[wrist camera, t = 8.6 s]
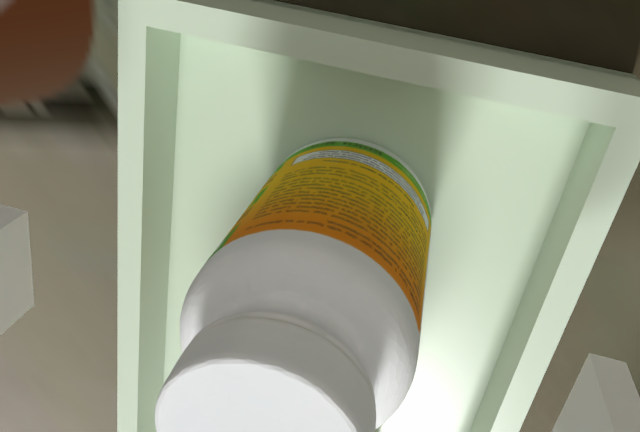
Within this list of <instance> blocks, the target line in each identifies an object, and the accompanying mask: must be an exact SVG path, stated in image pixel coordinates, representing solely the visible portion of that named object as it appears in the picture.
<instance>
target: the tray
mask: <svg viewBox="0 0 640 432" xmlns="http://www.w3.org/2000/svg"><path fill="white" fill-rule="evenodd" d="M331 138H352V139H359V140H363V141H367V142H370V143H373V144H376V145H378V146H380V147H383V148H385V149H387V150H389V151H390V152H392V153H393V154H395V155H396V156H398V157H399V158H400V159H401V160H402V161H404V162H405V163H406V164H407V165H408V166H409V167H410V168H411V170H412V171H413V172H414V173H415V175H416V176H417V178H418V179H419V181H420V182H421V184H422V186H423V188H424V190H425V193H426V195H427V198H428V201H429V205H430V210H431V218H432V227H431V240H430V251H429V260H428V269H427V278H426V288H425V297H424V306H423V316H422V325H421V335H420V345H419V354H418V361H417V366H416V371H415V375H414V379H413V382H412V385H411V387H410V389H409V391H408V393H407V395H406V397H405V399H404V401H403V402H402V404H401V405H400V407H399V408H398V409H397V411H396V412H395V413H394V414H393V415H392V416H391V417H390V418H389V419H388V420H387V421H386V422H385V423H383V424H382V425H381V426H380V427H378V428H377V429H376V430H377V432H519V430H520V428H521V426H522V423H523V421H524V419H525V417H526V415H527V412H528V410H529V408H530V406H531V403H532V401H533V399H534V397H535V394H536V392H537V390H538V388H539V385H540V383H541V381H542V379H543V376H544V374H545V372H546V370H547V367H548V365H549V363H550V361H551V358H552V356H553V354H554V352H555V349H556V347H557V345H558V343H559V340H560V338H561V336H562V334H563V331H564V329H565V327H566V325H567V322H568V320H569V318H570V316H571V313H572V311H573V309H574V307H575V304H576V302H577V300H578V298H579V295H580V293H581V291H582V289H583V287H584V284H585V282H586V280H587V278H588V275H589V273H590V271H591V269H592V266H593V264H594V262H595V260H596V257H597V255H598V253H599V251H600V248H601V246H602V244H603V242H604V239H605V237H606V235H607V233H608V230H609V228H610V226H611V224H612V221H613V219H614V217H615V215H616V212H617V210H618V208H619V206H620V203H621V201H622V199H623V197H624V194H625V192H626V190H627V188H628V185H629V183H630V181H631V179H632V176H633V174H634V172H635V170H636V167H637V165H638V163H639V161H640V80H639V79H638V78H637V77H636V76H635V75H634V74H631V73H626V72H621V71H616V70H611V69H606V68H601V67H597V66H592V65H587V64H582V63H577V62H572V61H567V60H562V59H558V58H553V57H548V56H543V55H538V54H533V53H528V52H523V51H519V50H514V49H509V48H504V47H499V46H494V45H489V44H484V43H480V42H475V41H470V40H465V39H460V38H455V37H450V36H445V35H441V34H436V33H431V32H426V31H421V30H416V29H411V28H406V27H402V26H397V25H392V24H387V23H382V22H377V21H372V20H367V19H362V18H358V17H353V16H348V15H343V14H338V13H333V12H328V11H323V10H319V9H314V8H309V7H304V6H299V5H294V4H289V3H284V2H280V1H275V0H118V401H117V432H157V431H156V427H155V407H156V402H157V398H158V395H159V393H160V390H161V388H162V386H163V384H164V383H165V381H166V379H167V378H168V376H169V375H170V373H171V371H172V369H173V368H174V366H175V364H176V363H177V361H178V360H179V358H180V356H181V355H182V353H183V352H182V348H181V340H180V316H181V311H182V306H183V303H184V299H185V296H186V294H187V292H188V289H189V287H190V285H191V284H192V282H193V280H194V279H195V277H196V276H197V274H198V273H199V271H200V270H201V268H202V267H203V266H204V264H205V263H206V262H207V260H208V259H209V257H210V256H211V255H212V254H213V252H214V251H215V250H216V249H217V247H218V246H219V245H220V243H221V242H222V241H223V240H224V238H225V237H226V236H227V234H228V233H229V232H230V230H231V229H232V228H233V226H234V225H235V224H236V222H237V221H238V220H239V218H240V217H241V216H242V214H243V213H244V212H245V211H246V209H247V208H248V206H249V205H250V204H251V202H252V201H253V199H254V198H255V197H256V195H257V194H258V193H259V191H260V190H261V189H262V187H263V186H264V185H265V183H266V182H267V180H268V179H269V178H270V176H271V175H272V174H273V172H274V171H275V170H276V169H277V168H278V166H279V165H280V164H281V163H282V162H283V161H284V160H285V159H286V158H287V157H288V156H290V155H291V154H292V153H294V152H295V151H296V150H298V149H300V148H302V147H304V146H306V145H308V144H311V143H313V142H317V141H320V140H325V139H331Z"/></svg>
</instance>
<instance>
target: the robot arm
mask: <svg viewBox="0 0 640 432" xmlns="http://www.w3.org/2000/svg"><path fill="white" fill-rule="evenodd" d="M33 306H34V291H33V278H32V264H31V251H30V237H29V224H28V211H24V210H20V209H16V208H12V207H8V206H4V205H0V336H1V335H2V334H3V333H4V332H5V331H6V330H7V329H8V328H10V327H11V326H12V325H13V324H14V323H15V322H16V321H17V320H18V319H20V318H21V317H22V316H23V315H24V314H25V313H26V312H27V311H28V310H30V309H31V308H32V307H33ZM552 432H640V397H639V394H638V392H637V389H636V387H635V384H634V382H633V379H632V377H631V374H630V372H629V369H628V367H627V364H626V362H623V361H619V360H615V359H611V358H607V357H603V356H599V355H595V354H591V353H589V354H588V357H587V359H586V361H585V363H584V365H583V367H582V369H581V371H580V373H579V375H578V377H577V380H576V382H575V384H574V386H573V388H572V390H571V392H570V394H569V396H568V398H567V401H566V403H565V405H564V407H563V409H562V411H561V413H560V415H559V417H558V419H557V421H556V424H555V426H554V428H553V430H552Z"/></svg>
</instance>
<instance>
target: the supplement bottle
mask: <svg viewBox="0 0 640 432" xmlns="http://www.w3.org/2000/svg"><path fill="white" fill-rule="evenodd" d="M431 227H432V218H431V210H430V205H429V201H428V198H427V195H426V193H425V190H424V188H423V186H422V184H421V182H420V181H419V179H418V178H417V176H416V175H415V173H414V172H413V171H412V170H411V168H410V167H409V166H408V165H407V164H406V163H405V162H404V161H402V160H401V159H400V158H399V157H398V156H396V155H395V154H393V153H392V152H390V151H389V150H387V149H385V148H383V147H380V146H378V145H376V144H373V143H370V142H367V141H363V140H359V139H352V138H331V139H325V140H320V141H317V142H313V143H311V144H308V145H306V146H304V147H302V148H300V149H298V150H296V151H295V152H294V153H292V154H291V155H290V156H288V157H287V158H286V159H285V160H284V161H283V162H282V163H281V164H280V165H279V166H278V168H277V169H276V170H275V171H274V172H273V174H272V175H271V176H270V178H269V179H268V180H267V182H266V183H265V185H264V186H263V187H262V189H261V190H260V191H259V193H258V194H257V195H256V197H255V198H254V199H253V201H252V202H251V204H250V205H249V206H248V208H247V209H246V211H245V212H244V213H243V214H242V216H241V217H240V218H239V220H238V221H237V222H236V224H235V225H234V226H233V228H232V229H231V230H230V232H229V233H228V234H227V236H226V237H225V238H224V240H223V241H222V242H221V243H220V245H219V246H218V247H217V249H216V250H215V251H214V252H213V254H212V255H211V256H210V257H209V259H208V260H207V262H206V263H205V264H204V266H203V267H202V268H201V270H200V271H199V273H198V274H197V276H196V277H195V279H194V280H193V282H192V284H191V285H190V287H189V289H188V292H187V294H186V296H185V299H184V303H183V306H182V311H181V316H180V340H181V348H182V352H183V353H182V355H181V356H180V358H179V360H178V361H177V363H176V364H175V366H174V368H173V369H172V371H171V373H170V375H169V376H168V378H167V379H166V381H165V383H164V384H163V386H162V388H161V390H160V393H159V395H158V398H157V402H156V407H155V427H156V431H157V432H375V429H377V428H378V427H380V426H381V425H382V424H383V423H385V422H386V421H387V420H388V419H389V418H390V417H391V416H392V415H393V414H394V413H395V412H396V411H397V409H398V408H399V407H400V405H401V404H402V402H403V401H404V399H405V397H406V395H407V393H408V391H409V389H410V387H411V385H412V382H413V379H414V375H415V371H416V366H417V361H418V354H419V345H420V335H421V325H422V316H423V306H424V297H425V288H426V278H427V269H428V260H429V251H430V240H431Z"/></svg>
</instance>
